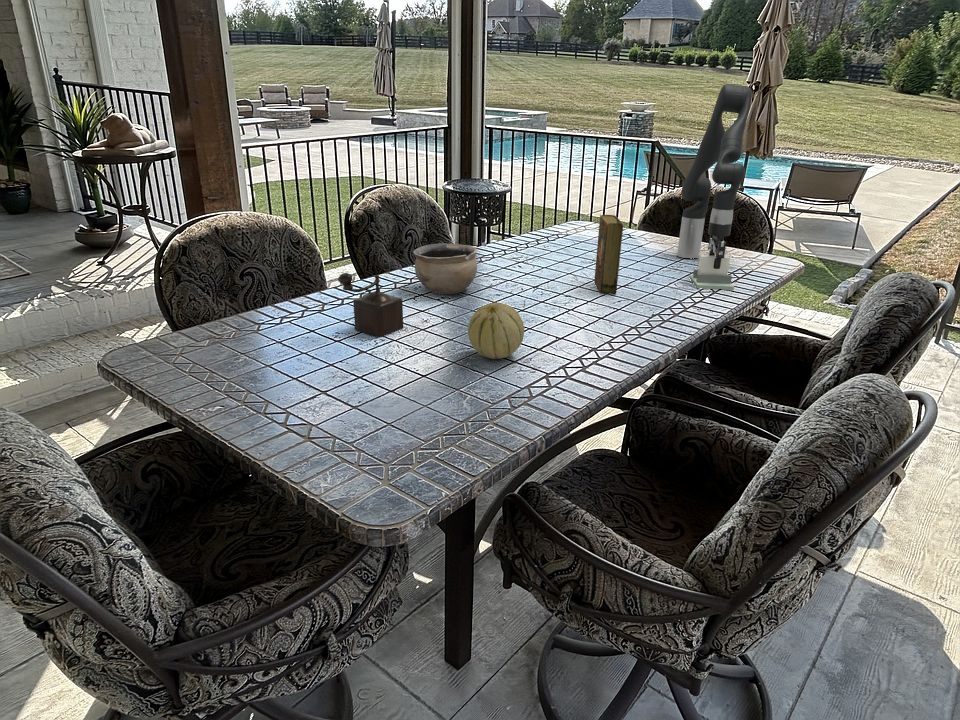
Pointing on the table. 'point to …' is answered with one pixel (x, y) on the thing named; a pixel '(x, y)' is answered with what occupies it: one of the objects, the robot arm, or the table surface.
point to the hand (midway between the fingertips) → (713, 265)
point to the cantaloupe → (496, 330)
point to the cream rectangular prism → (708, 262)
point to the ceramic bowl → (445, 267)
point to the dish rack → (711, 281)
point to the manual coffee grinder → (375, 309)
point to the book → (608, 254)
